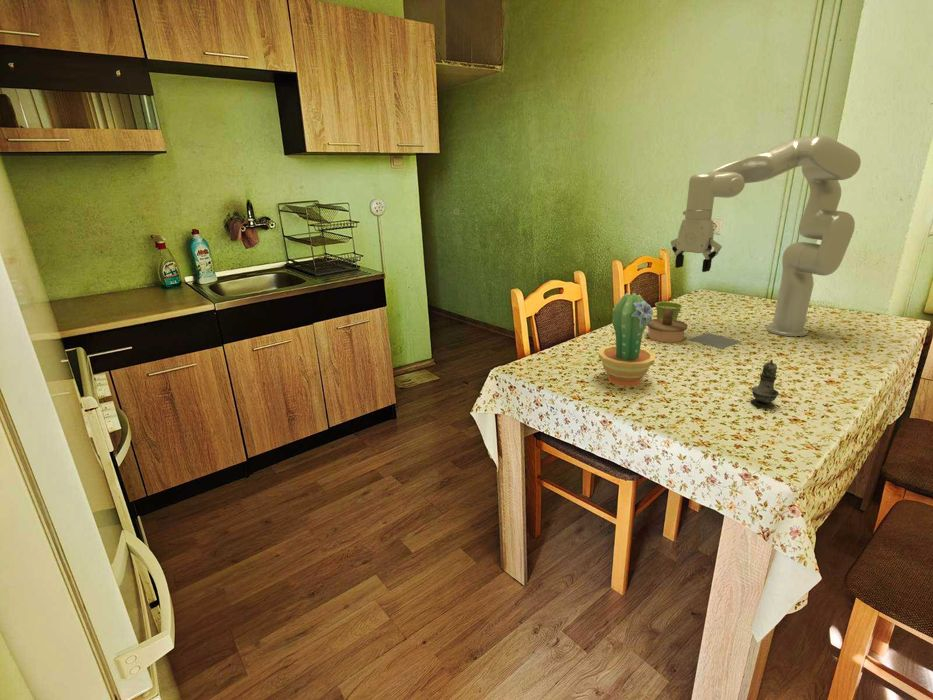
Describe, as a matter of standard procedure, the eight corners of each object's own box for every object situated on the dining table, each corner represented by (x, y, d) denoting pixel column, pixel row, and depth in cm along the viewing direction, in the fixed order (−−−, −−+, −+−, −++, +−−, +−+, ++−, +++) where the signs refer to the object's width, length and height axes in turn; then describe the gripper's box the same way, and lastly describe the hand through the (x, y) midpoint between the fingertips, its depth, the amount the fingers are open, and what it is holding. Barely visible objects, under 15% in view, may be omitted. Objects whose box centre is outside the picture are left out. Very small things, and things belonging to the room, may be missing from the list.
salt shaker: (744, 399, 124) (752, 355, 120) (765, 398, 124) (775, 354, 120) (758, 410, 118) (768, 364, 114) (781, 408, 119) (791, 363, 115)
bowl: (661, 333, 176) (662, 319, 174) (688, 340, 167) (690, 327, 165) (641, 338, 170) (643, 325, 169) (668, 347, 162) (670, 332, 160)
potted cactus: (599, 390, 131) (606, 300, 122) (593, 368, 145) (599, 287, 137) (658, 392, 129) (670, 301, 120) (646, 370, 143) (656, 287, 135)
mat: (707, 335, 172) (708, 332, 172) (741, 344, 162) (741, 341, 162) (687, 342, 166) (687, 339, 166) (720, 351, 156) (721, 348, 156)
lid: (662, 318, 175) (664, 303, 173) (695, 327, 165) (697, 310, 163) (638, 325, 169) (640, 309, 167) (671, 334, 158) (673, 317, 157)
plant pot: (674, 323, 186) (677, 301, 183) (682, 330, 178) (685, 308, 175) (649, 323, 187) (652, 301, 184) (656, 330, 178) (659, 308, 175)
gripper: (667, 215, 157) (662, 267, 163) (717, 217, 143) (709, 274, 149) (681, 213, 161) (676, 264, 167) (732, 215, 147) (724, 271, 153)
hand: (692, 269), depth 158 cm, fingers open, 9 cm apart
